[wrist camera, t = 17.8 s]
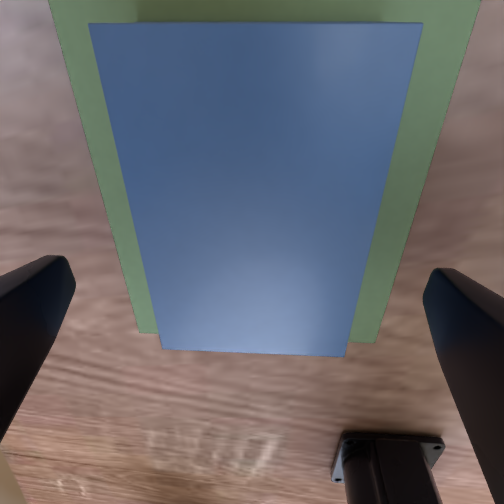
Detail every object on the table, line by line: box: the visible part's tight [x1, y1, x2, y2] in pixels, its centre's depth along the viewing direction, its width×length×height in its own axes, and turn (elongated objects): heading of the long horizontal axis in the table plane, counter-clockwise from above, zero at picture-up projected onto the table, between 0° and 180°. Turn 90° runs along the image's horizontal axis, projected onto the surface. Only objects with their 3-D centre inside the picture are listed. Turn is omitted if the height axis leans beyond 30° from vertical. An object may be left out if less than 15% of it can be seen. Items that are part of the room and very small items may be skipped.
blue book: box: [88, 21, 423, 357], centre depth 11 cm, size 10×7×3 cm, turn 0°
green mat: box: [48, 0, 481, 343], centre depth 13 cm, size 16×12×1 cm
